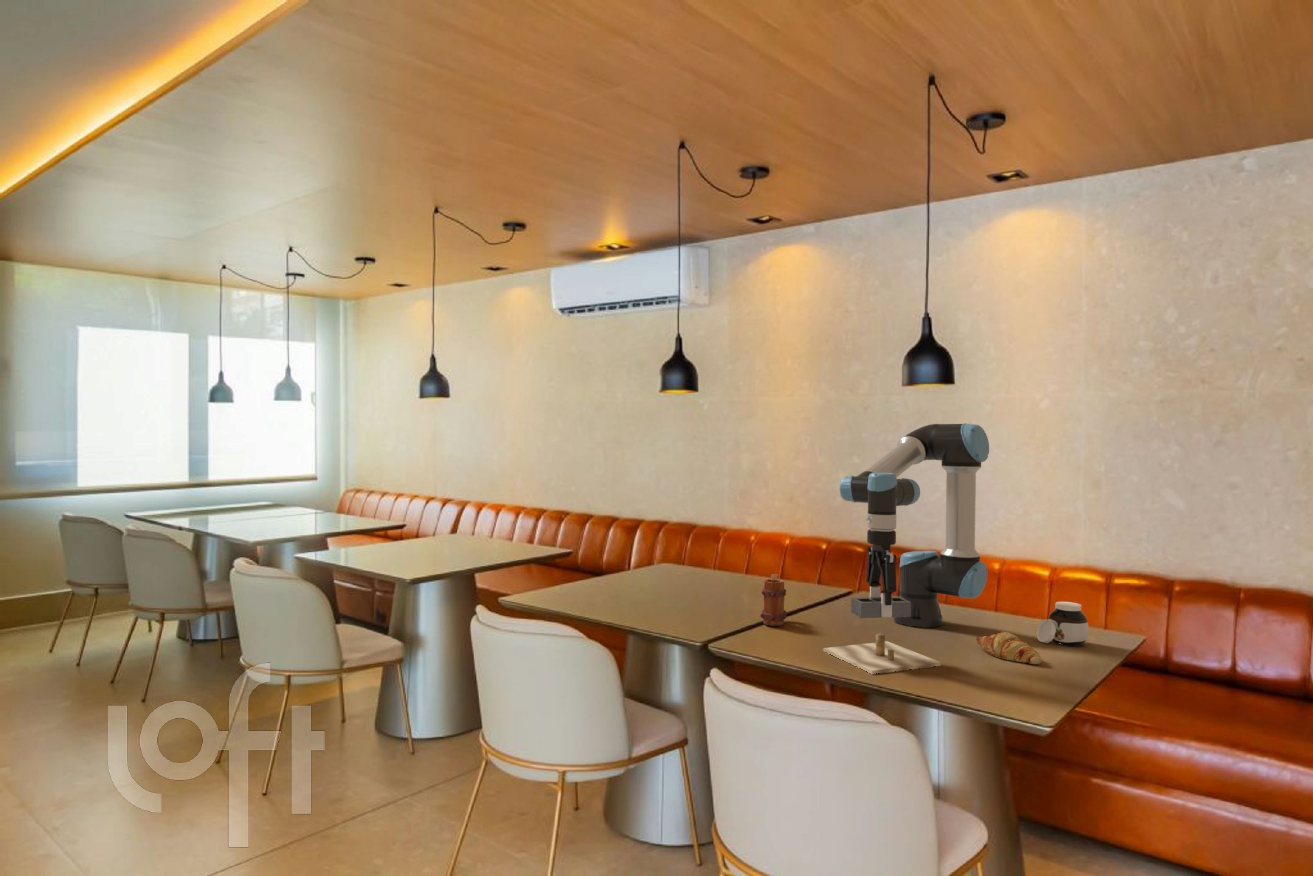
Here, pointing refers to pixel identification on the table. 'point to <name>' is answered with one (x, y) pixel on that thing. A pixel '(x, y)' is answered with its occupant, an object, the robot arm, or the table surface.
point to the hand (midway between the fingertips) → (880, 613)
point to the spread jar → (1064, 625)
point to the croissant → (1009, 648)
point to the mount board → (881, 656)
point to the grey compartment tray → (879, 607)
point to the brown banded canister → (773, 601)
